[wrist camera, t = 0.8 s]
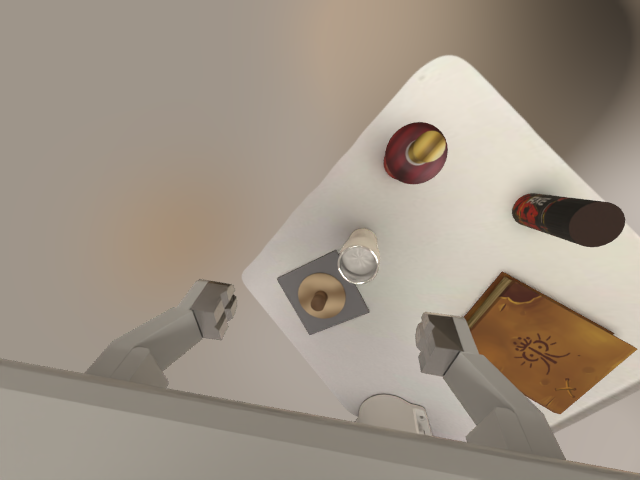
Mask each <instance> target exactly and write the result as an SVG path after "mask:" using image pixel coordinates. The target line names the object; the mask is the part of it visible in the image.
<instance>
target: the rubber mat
mask: <svg viewBox="0 0 640 480" xmlns="http://www.w3.org/2000/svg"><path fill="white" fill-rule="evenodd" d="M338 258H339V254H338V252H337V250H335V251H333V252H331V253H329V254H327V255H325V256H322V257H320V258H318V259H316V260H314V261H312V262H310V263H308V264H306V265H304V266H302V267H300V268H298V269H295V270H293V271H291V272H289V273H287V274H285V275H283V276H281V277H279V278H277V280H278V282H279V284H280V285H281V287H282V289H283V291H284V292H285V294H286V296H287V297H288V299H289V301H290V303H291V304H292V306H293V308H294V309H295V311H296V313H297V315H298V316H299V318H300V320H301V321H302V323H303V325H304V327H305V328H306V330H307V332H308V333H309V335H311V334H314V333H317V332H319V331H322V330H324V329H327V328H330V327H332V326H335V325H337V324H340V323H343V322H345V321H348V320H350V319H353V318H356V317H358V316H361V315H363V314H366V313H369V309H368V307H367V306H366V304H365V302H364V300H363V298H362V296H361V295H360V293H359V291H358V289H357V287H356V285H355V284H353V283H350V282H348V281H347V280H345V279H344V278H343V277H342V276H341V274H340V272H339V270H338ZM314 273H326V274H329V275H332V276H333V277H335V278H336V279H337V280H339V281H340V283H341V284H342V286H343V287H344V290H345V294H346V300H345V304H344V307H343V309H342V310H341V311H340V313H338V314H337V315H336V316H334V317H331V318H326V319H322V318H317V317H314V316H312V315H310V314H309V313H307V312H306V311H305V310H304V309H303V307H302V306H301V304H300V302H299V298H298V290H299V287H300V284H301V283H302V281H303V280H304V279H305V278H306V277H307V276H309V275H311V274H314Z"/></svg>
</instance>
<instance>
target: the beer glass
mask: <svg viewBox="0 0 640 480" xmlns="http://www.w3.org/2000/svg"><path fill="white" fill-rule="evenodd" d="M379 264H380V252H379V249H378V247H377V238H376V236H375V234H374V233H373V232H372V231H370V230H368V229H365V228H361V229H357V230H355V231H354V232H353V233H352V234H351V235H350V237H349V240H348V241H347V242H346V243H345V244H344V245H343V247H342V249H341V251H340V254H339V258H338V270H339V272H340V274H341V276H342V277H343V278H344V279H345V280H347V281H348V282H350V283H353V284H365V283H368V282H370V281H371V280H372V279H374V277H375V276H376V275H377V273H378V270H379Z"/></svg>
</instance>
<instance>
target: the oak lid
mask: <svg viewBox="0 0 640 480" xmlns="http://www.w3.org/2000/svg"><path fill="white" fill-rule="evenodd" d="M298 298H299V302H300V304H301V306H302V307H303V309H304V310H305V311H306V312H307V313H309V314H310V315H312V316H314V317H317V318H322V319H326V318H331V317H334V316H336V315H337V314H338V313H340V311H341V310H342V309H343V307H344V304H345V300H346V294H345V290H344V287H343V286H342V284H341V283H340V281H339V280H337V279H336V278H335V277H333V276H332V275H329V274H326V273H314V274H311V275H309V276H307V277H306V278H305V279H304V280H303V281H302V283H301V284H300V287H299V290H298Z"/></svg>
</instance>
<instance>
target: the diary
mask: <svg viewBox="0 0 640 480" xmlns="http://www.w3.org/2000/svg"><path fill="white" fill-rule="evenodd" d="M464 318H465V319H466V322H467V324H468V327H469V329H470V332H471V334H472V337H473V340H474V342H475V345H476V347H477V350H478V352H479V354H480V355H484V356H485V357H486V358H487V359H488V360H489V361H490V362H491V363H492V364H493V365H494V366H495V367H496V368H497V369H498V370H499V371H500V372H501V373H502V374H503V375H504V376H505V377H506V378H507V379H508V380H509V381H510V382H511V383H512V384H513V385H514V386H515V387H516V388H517V389H518V390H519V391H520V392H522V393H523V394H524V395H525V396H526V397H528V398H530V399H532V400H533V401H535V402H537V403H538V404H540V405H542V406H544V407H545V408H547V409H549V410H550V411H552V412H554V413H557V414H561V413H562V412H564V411H565V410H566V409H567V408H568V407H569V406H571V405H572V404H573V403H574V402H575V401H577V400H578V399H579V398H580V397H581V396H583V395H584V394H585V393H586V392H587V391H588V390H590V389H591V388H592V387H593V386H594V385H596V384H597V383H598V382H599V381H600V380H601V379H603V378H604V377H605V376H606V375H607V374H609V373H610V372H611V371H612V370H613V369H615V368H616V367H617V366H618V365H619V364H620V363H622V362H623V361H624V360H625V359H626V358H628V357H629V356H630V355H631V354H632V353H633V352H635V351H636V350H637V349H636V348H635V347H633V346H632V345H630V344H628V343H626V342H625V341H623V340H621V339H619V338H617V337H616V336H614V335H613V334H614V333H613V332H611V331H609V330H607V329H606V328H604V327H602V326H600V325H598V324H597V323H595V322H593V321H591V320H589V319H587V318H586V317H584V316H582V315H580V314H578V313H577V312H575V311H573V310H571V309H569V308H568V307H566V306H564V305H562V304H560V303H558V302H557V301H555V300H553V299H551V298H549V297H548V296H546V295H544V294H542V293H540V292H539V291H537V290H535V289H533V288H531V287H530V286H528V285H526V284H524V283H522V282H520V281H519V280H517V279H515V278H513V277H511V276H510V275H508V274H506V273H504V272H501V274H500V275H499V276H498V277H497V278H496V279H495V281H494V282H493V283H492V284H491V285H490V287H489V288H488V289H487V290H486V291H485V292H484V294H483V295H482V296H481V297H480V298H479V300H478V301H477V302H476V303H475V304H474V306H473V307H472V308H471V309H470V310H469V311H468V313H467V314H466V315H465V316H464Z"/></svg>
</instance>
